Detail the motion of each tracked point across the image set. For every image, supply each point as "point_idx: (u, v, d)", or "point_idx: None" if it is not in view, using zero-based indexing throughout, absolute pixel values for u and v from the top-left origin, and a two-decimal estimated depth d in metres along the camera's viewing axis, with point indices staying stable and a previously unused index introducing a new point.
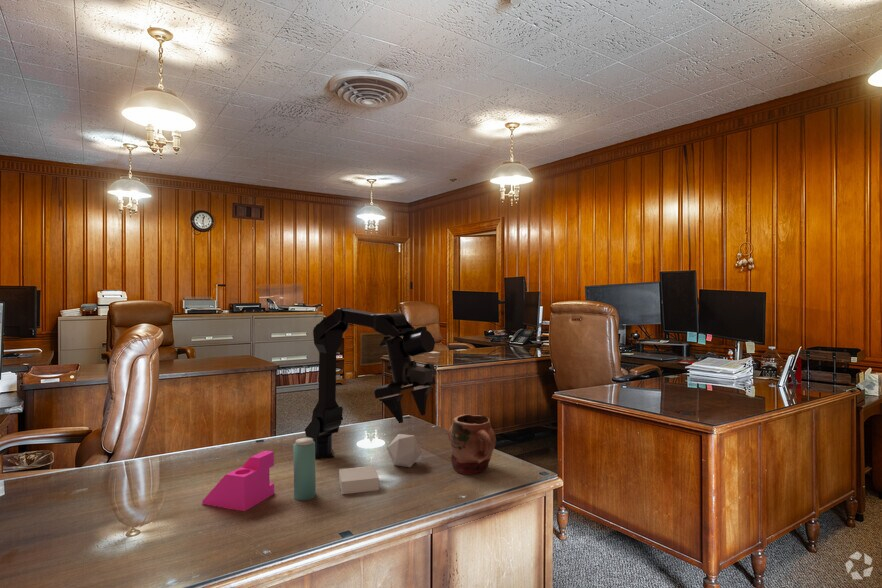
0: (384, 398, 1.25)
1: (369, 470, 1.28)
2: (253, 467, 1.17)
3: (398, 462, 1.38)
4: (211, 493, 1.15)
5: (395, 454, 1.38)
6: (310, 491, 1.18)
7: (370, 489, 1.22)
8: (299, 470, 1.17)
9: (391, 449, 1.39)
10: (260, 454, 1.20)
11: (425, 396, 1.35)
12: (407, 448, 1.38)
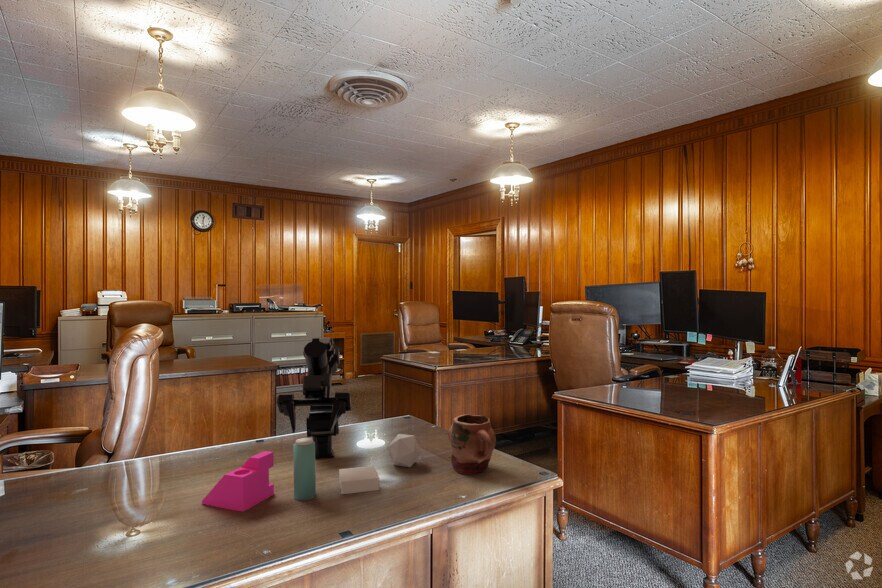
0: None
1: (369, 470, 1.28)
2: (252, 467, 1.17)
3: (398, 462, 1.38)
4: (210, 493, 1.15)
5: (395, 454, 1.38)
6: (310, 492, 1.18)
7: (370, 489, 1.22)
8: (299, 470, 1.17)
9: (391, 449, 1.39)
10: (260, 454, 1.19)
11: (334, 411, 1.30)
12: (407, 448, 1.38)
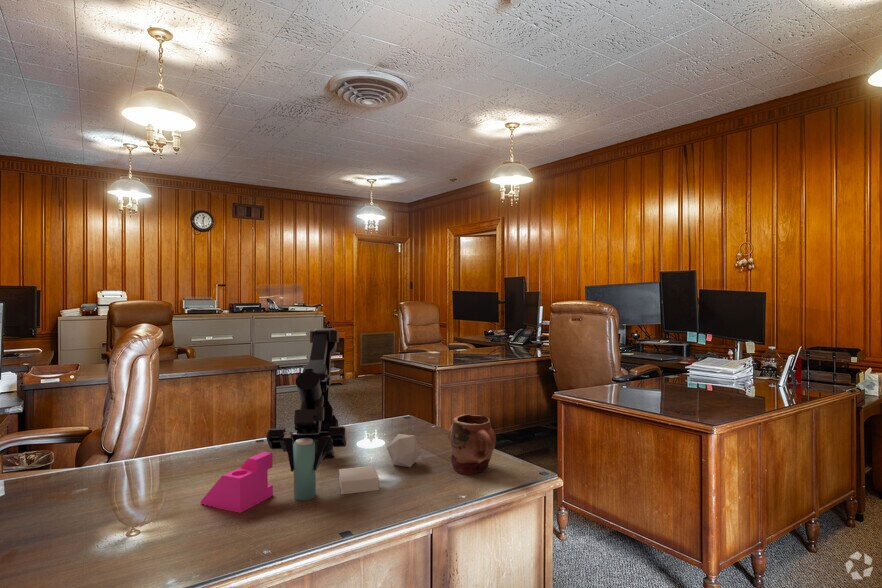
0: None
1: (369, 470, 1.28)
2: (250, 468, 1.17)
3: (398, 462, 1.38)
4: (209, 493, 1.15)
5: (395, 454, 1.38)
6: (310, 491, 1.18)
7: (370, 489, 1.22)
8: (299, 470, 1.17)
9: (391, 449, 1.39)
10: (258, 455, 1.19)
11: (319, 448, 1.21)
12: (407, 448, 1.38)
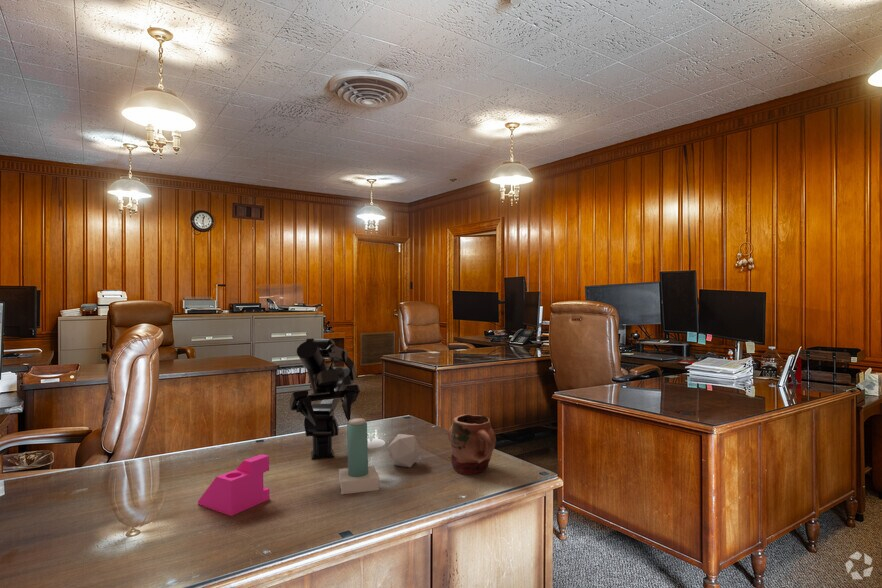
0: (297, 406, 1.35)
1: (369, 470, 1.28)
2: (245, 471, 1.15)
3: (398, 462, 1.38)
4: (205, 494, 1.14)
5: (395, 454, 1.38)
6: (367, 467, 1.25)
7: (370, 489, 1.22)
8: (358, 448, 1.24)
9: (391, 449, 1.39)
10: (254, 458, 1.17)
11: (348, 402, 1.40)
12: (407, 448, 1.38)
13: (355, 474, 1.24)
